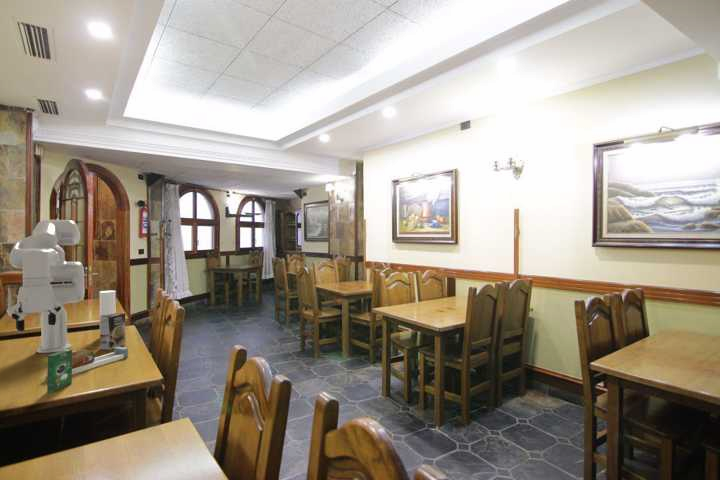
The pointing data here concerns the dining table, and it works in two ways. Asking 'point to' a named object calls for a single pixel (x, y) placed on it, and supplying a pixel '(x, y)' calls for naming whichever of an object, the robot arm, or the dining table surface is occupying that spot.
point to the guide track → (104, 359)
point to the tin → (82, 358)
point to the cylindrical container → (107, 303)
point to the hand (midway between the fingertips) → (36, 327)
